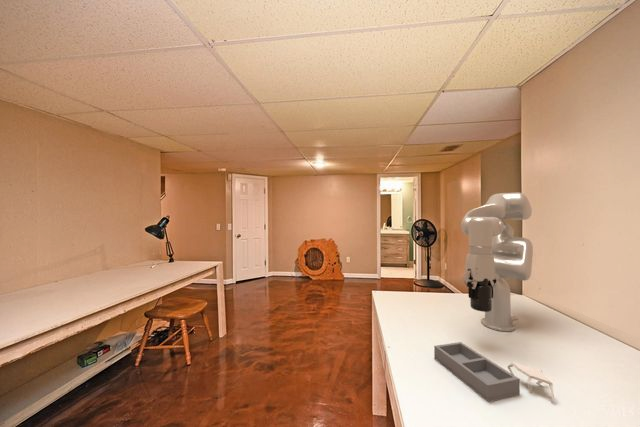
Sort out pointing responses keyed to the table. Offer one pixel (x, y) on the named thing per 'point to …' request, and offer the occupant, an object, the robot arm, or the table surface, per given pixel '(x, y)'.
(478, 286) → the supplement bottle
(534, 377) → the origami figure
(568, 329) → the table surface
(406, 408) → the table surface
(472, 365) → the divided tray
